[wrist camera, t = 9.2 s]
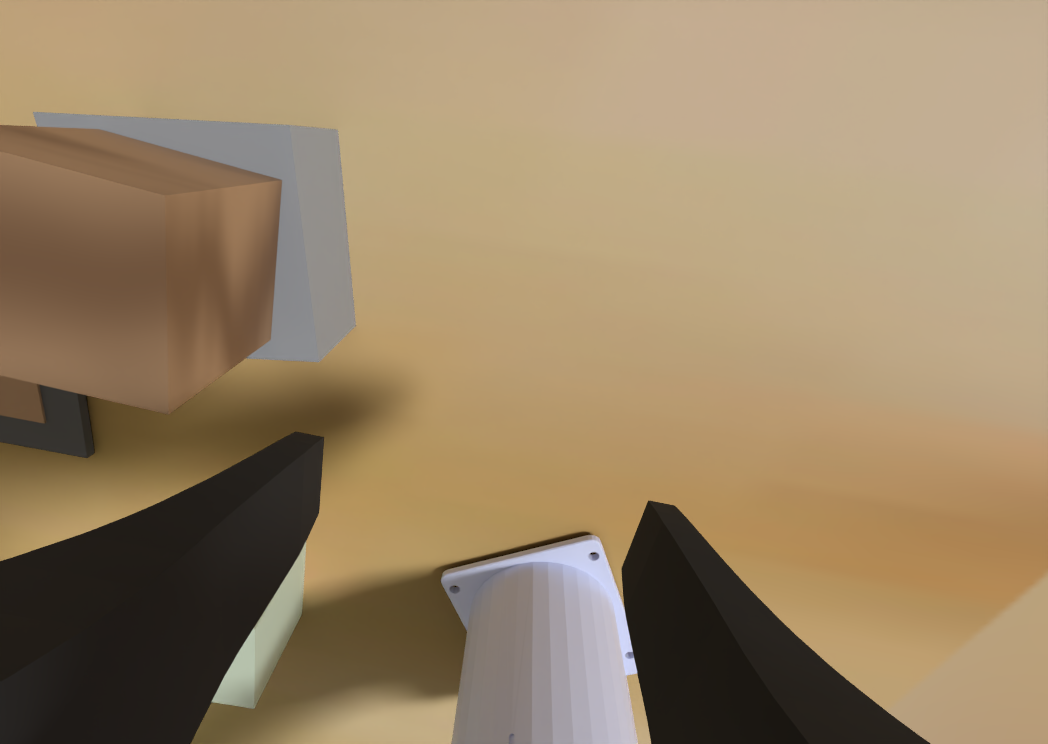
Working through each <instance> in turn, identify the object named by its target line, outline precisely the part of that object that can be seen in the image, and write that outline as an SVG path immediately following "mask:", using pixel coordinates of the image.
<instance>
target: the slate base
mask: <svg viewBox="0 0 1048 744" xmlns="http://www.w3.org/2000/svg"><path fill="white" fill-rule="evenodd" d="M33 114H34V117H35V121H36V124H37V127H60V128H85V129H100V130H104V131H108V132H111V133H115V134H118V135H122V136H126V137H129V138H133V139H136V140H140V141H144V142H147V143H151V144H154V145H158V146H162V147H165V148H169V149H172V150H176V151H180V152H183V153H187V154H190V155H194V156H198V157H201V158H205V159H208V160H212V161H216V162H219V163H223V164H226V165H230V166H233V167H237V168H241V169H244V170H248V171H251V172H255V173H259V174H262V175H266V176H269V177H273V178H277V179H280V180H282V190H281V204H280V218H279V232H278V246H277V260H276V274H275V288H274V302H273V316H272V330H271V340H270V341H269V342H267V343H266V344H264V345H263V346H262V347H260V348H259V349H258V350H256V351H255V352H254V353H252V354H251V355H249V356H248V357H247V358H249V359H269V360H288V361H307V362H320V361H321V360H322V359H323V358H324V357H325V356H326V355H327V354H328V353H329V352H330V351H331V350H332V349H333V348H334V347H335V346H336V345H337V344H338V343H339V342H340V341H341V340H342V339H343V338H344V337H345V336H346V335H347V334H348V333H349V332H350V331H351V330H352V329H353V328H354V327H355V326H356V322H355V311H354V300H353V289H352V278H351V267H350V256H349V245H348V234H347V223H346V212H345V202H344V191H343V180H342V169H341V158H340V147H339V136H338V130H335V129H325V128H314V127H304V126H293V125H276V124H257V123H238V122H218V121H199V120H179V119H160V118H140V117H121V116H102V115H82V114H63V113H43V112H33Z"/></svg>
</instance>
